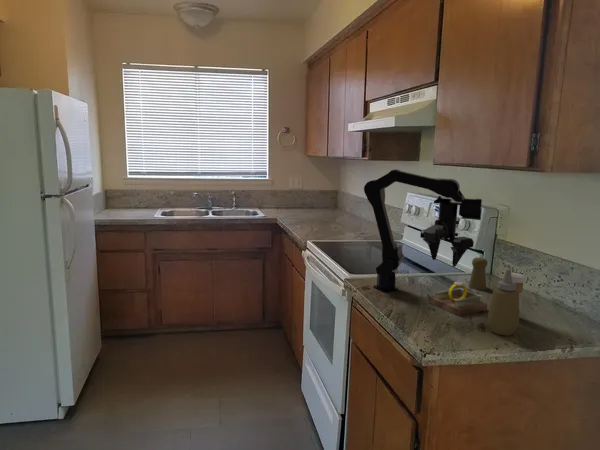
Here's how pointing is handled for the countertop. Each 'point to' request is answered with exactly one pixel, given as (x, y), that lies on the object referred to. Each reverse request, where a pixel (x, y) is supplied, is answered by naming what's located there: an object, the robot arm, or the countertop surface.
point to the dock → (459, 302)
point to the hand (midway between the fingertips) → (443, 263)
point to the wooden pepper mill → (478, 274)
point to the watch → (454, 287)
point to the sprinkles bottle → (518, 285)
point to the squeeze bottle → (504, 307)
